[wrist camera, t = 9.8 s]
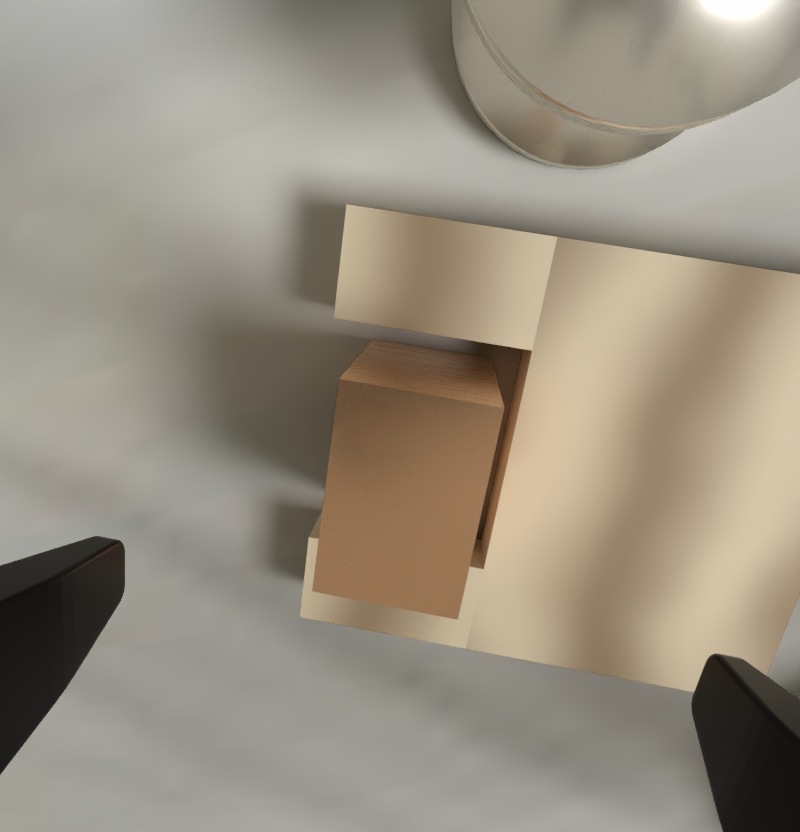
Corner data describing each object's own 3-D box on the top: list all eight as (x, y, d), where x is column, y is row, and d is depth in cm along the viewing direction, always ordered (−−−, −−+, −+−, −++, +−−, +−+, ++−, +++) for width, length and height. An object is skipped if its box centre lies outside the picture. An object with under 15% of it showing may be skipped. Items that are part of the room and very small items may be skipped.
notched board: (875, 288, 17) (926, 293, 16) (728, 663, 22) (753, 703, 20) (357, 207, 18) (346, 204, 16) (313, 585, 22) (299, 617, 21)
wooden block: (490, 358, 19) (504, 407, 14) (458, 517, 21) (457, 619, 15) (373, 338, 20) (339, 378, 14) (351, 497, 21) (312, 591, 16)
